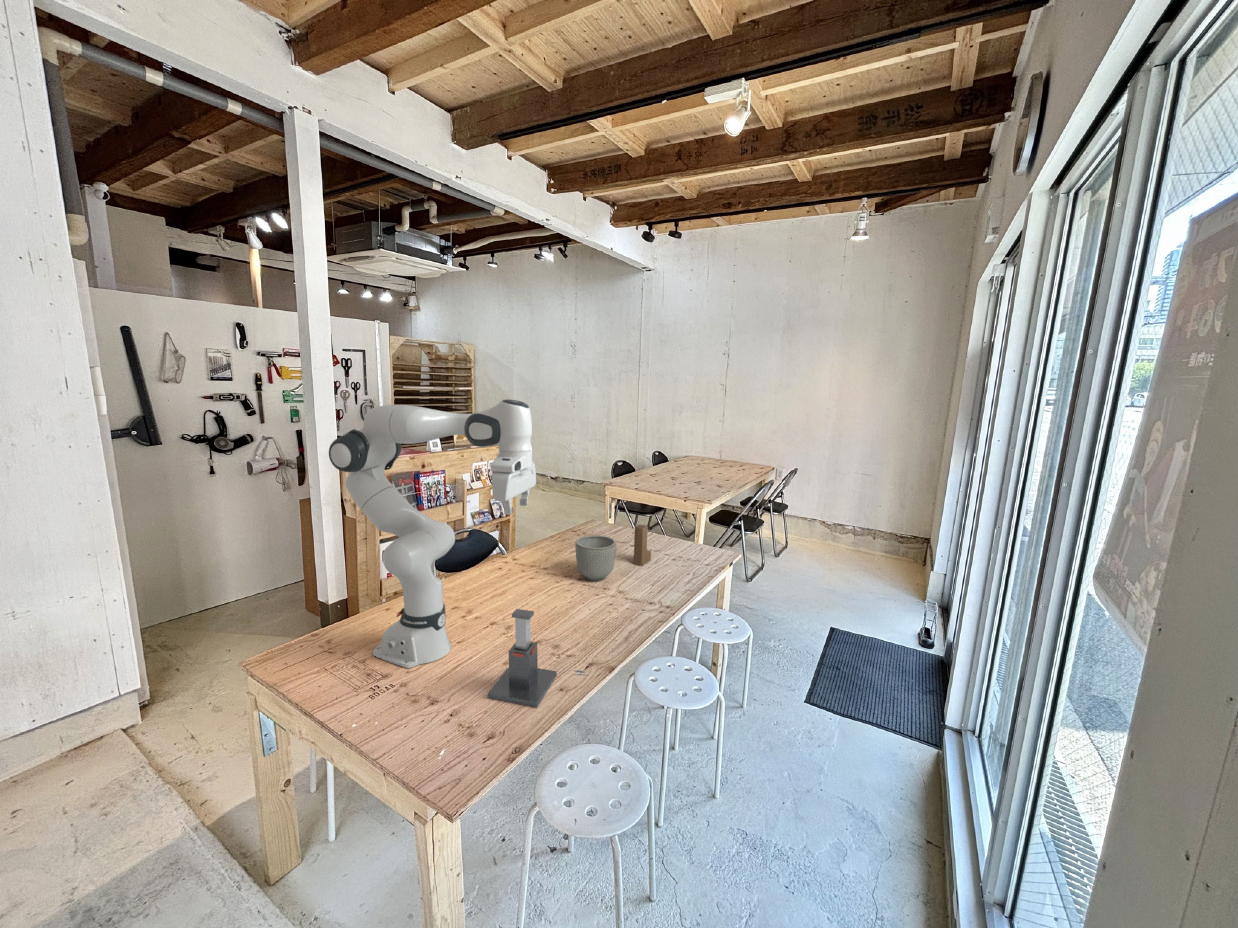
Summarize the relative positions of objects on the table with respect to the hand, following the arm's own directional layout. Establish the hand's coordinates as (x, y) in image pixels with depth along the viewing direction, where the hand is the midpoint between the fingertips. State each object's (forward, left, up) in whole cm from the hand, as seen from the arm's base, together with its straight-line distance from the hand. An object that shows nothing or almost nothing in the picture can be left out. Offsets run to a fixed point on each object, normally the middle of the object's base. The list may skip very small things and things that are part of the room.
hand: (516, 509), depth 136 cm
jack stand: (+5, -8, -48) cm, 49 cm away
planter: (+3, +69, -48) cm, 84 cm away
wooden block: (+19, +92, -48) cm, 106 cm away
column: (+5, -8, -46) cm, 47 cm away
